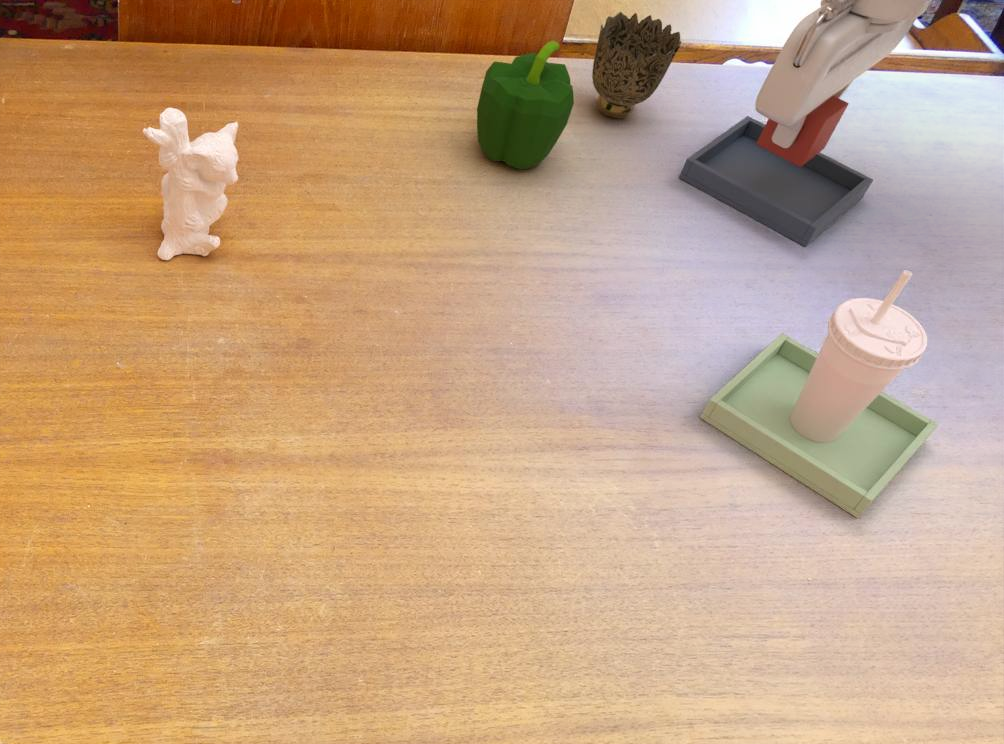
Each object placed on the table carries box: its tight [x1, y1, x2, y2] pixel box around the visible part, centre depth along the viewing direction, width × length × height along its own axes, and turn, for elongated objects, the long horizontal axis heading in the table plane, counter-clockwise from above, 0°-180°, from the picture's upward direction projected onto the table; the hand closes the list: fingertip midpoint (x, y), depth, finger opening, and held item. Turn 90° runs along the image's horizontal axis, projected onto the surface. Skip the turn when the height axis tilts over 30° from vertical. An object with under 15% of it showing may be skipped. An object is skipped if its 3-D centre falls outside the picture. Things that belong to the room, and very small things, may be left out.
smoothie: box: [790, 269, 928, 443], centre depth 79 cm, size 6×6×14 cm
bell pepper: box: [476, 40, 575, 170], centre depth 100 cm, size 8×8×10 cm
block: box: [756, 96, 850, 167], centre depth 98 cm, size 4×4×4 cm
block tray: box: [678, 115, 874, 248], centre depth 103 cm, size 13×11×2 cm
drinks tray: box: [699, 332, 939, 519], centre depth 84 cm, size 13×11×2 cm
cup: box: [591, 11, 682, 119], centre depth 106 cm, size 8×7×8 cm
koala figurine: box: [142, 107, 240, 261], centre depth 88 cm, size 8×7×12 cm
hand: (798, 130), depth 99 cm, fingers closed on block, 4 cm apart
